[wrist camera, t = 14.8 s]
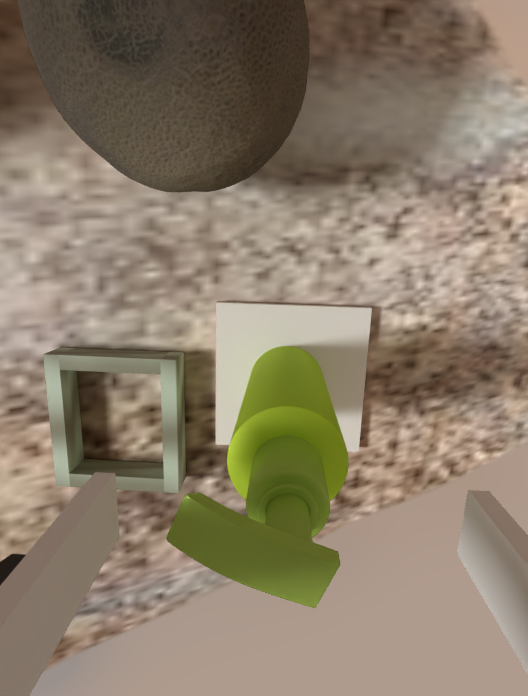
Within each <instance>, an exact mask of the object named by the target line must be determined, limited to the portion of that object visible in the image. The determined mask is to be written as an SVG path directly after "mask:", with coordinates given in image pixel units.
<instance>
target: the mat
mask: <svg viewBox="0 0 528 696" xmlns="http://www.w3.org/2000/svg"><path fill="white" fill-rule="evenodd" d="M371 313H372V308H370V307H355V306H327V305H300V304H272V303H245V302H216V444H220V445H230V442H231V438H232V435H233V432H234V428H235V425H236V422H237V418H238V415H239V411H240V408H241V405H242V401H243V398H244V395H245V391H246V388H247V385H248V381H249V378H250V375H251V371H252V368H253V366H254V364H255V363H256V361H257V360H258V359H259V357H260V356H262V355H263V354H264V353H265V352H267V351H269V350H271V349H273V348H276V347H281V346H292V347H297V348H300V349H302V350H304V351H306V352H308V353H309V354H310V355H312V356H313V357H314V358H315V360H316V361H317V362H318V364H319V366H320V368H321V371H322V374H323V377H324V380H325V383H326V386H327V389H328V392H329V395H330V398H331V401H332V405H333V408H334V411H335V414H336V417H337V420H338V423H339V426H340V429H341V432H342V435H343V438H344V442H345V445H346V448H347V451H353V452H359V442H360V432H361V421H362V410H363V399H364V388H365V378H366V367H367V356H368V345H369V334H370V324H371Z"/></svg>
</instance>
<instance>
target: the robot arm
mask: <svg viewBox="0 0 528 696" xmlns="http://www.w3.org/2000/svg"><path fill="white" fill-rule="evenodd" d="M118 537H119V522H118V507H117V493H116V478H115V473H102V472H95V473H94V474H93V475H92V477H91V478H90V479H89V480H88V481H87V483H86V484H85V485H84V486H83V487H82V489H81V490H80V491H79V492H78V493H77V495H76V496H75V497H74V498H73V499H72V501H71V502H70V503H69V504H68V505H67V506H66V508H65V509H64V510H63V511H62V512H61V514H60V515H59V516H58V517H57V518H56V520H55V521H54V522H53V523H52V524H51V526H50V527H49V528H48V529H47V530H46V532H45V533H44V534H43V535H42V536H41V538H40V539H39V540H38V541H37V542H36V544H35V545H34V546H33V547H32V548H31V550H30V551H29V552H28V553H27V554H26V555H21V554H11V555H10V556H8V557H7V558H5V559H4V560H3V561H1V562H0V696H29V695H30V693H31V692H32V690H33V688H34V686H35V685H36V683H37V681H38V679H39V677H40V676H41V674H42V672H43V670H44V669H45V667H46V665H47V663H48V662H49V660H50V658H51V656H52V654H53V653H54V651H55V649H56V647H57V646H58V644H59V642H60V640H61V638H62V637H63V635H64V633H65V631H66V630H67V628H68V626H69V624H70V623H71V621H72V619H73V617H74V615H75V614H76V612H77V610H78V608H79V607H80V605H81V603H82V601H83V599H84V598H85V596H86V594H87V592H88V591H89V589H90V587H91V585H92V583H93V582H94V580H95V578H96V576H97V575H98V573H99V571H100V569H101V568H102V566H103V564H104V562H105V560H106V559H107V557H108V555H109V553H110V552H111V550H112V548H113V546H114V544H115V543H116V541H117V539H118ZM457 555H458V556H459V558H460V560H461V561H462V563H463V565H464V566H465V568H466V570H467V572H468V573H469V575H470V577H471V578H472V580H473V582H474V583H475V585H476V587H477V589H478V590H479V592H480V594H481V595H482V597H483V599H484V600H485V602H486V604H487V606H488V607H489V609H490V611H491V612H492V614H493V616H494V618H495V619H496V621H497V623H498V624H499V626H500V628H501V629H502V631H503V633H504V635H505V636H506V638H507V640H508V641H509V643H510V645H511V646H512V648H513V650H514V651H515V653H516V655H517V657H518V658H519V660H520V662H521V664H522V665H523V667H524V668H525V670H526V672H527V674H528V535H527V534H526V533H525V532H524V530H523V529H522V528H521V527H520V526H519V525H518V524H517V522H516V521H515V520H514V519H513V518H512V517H511V516H510V514H509V513H508V512H507V511H506V510H505V509H504V508H503V507H502V505H501V504H500V503H499V502H498V501H497V500H496V498H495V497H494V496H493V495H492V494H491V493H490V492H489V491H474V490H468V493H467V499H466V505H465V511H464V517H463V522H462V528H461V535H460V539H459V546H458V551H457Z"/></svg>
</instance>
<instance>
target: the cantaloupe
mask: <svg viewBox="0 0 528 696" xmlns="http://www.w3.org/2000/svg"><path fill="white" fill-rule="evenodd" d="M18 6H19V11H20V15H21V20H22V25H23V29H24V33H25V37H26V40H27V43H28V46H29V49H30V51H31V54H32V56H33V59H34V61H35V64H36V67H37V69H38V72H39V74H40V76H41V79H42V81H43V83H44V86H45V88H46V90H47V92H48V93H49V95H50V97H51V99H52V101H53V103H54V105H55V106H56V108H57V109H58V111H59V112H60V114H61V115H62V117H63V118H64V120H65V121H66V122H67V123H68V125H69V126H70V127H71V128H72V129H73V130H74V132H75V133H76V134H77V135H78V136H79V137H80V138H81V139H82V140H83V141H84V142H85V143H86V144H87V145H88V146H89V147H91V148H92V149H93V150H94V151H95V152H96V153H98V154H99V155H100V156H101V157H103V158H104V159H105V160H106V161H107V162H109V163H110V164H111V165H112V166H113V167H114V168H116V169H117V170H118V171H119V172H121V173H122V174H124V175H125V176H127V177H128V178H130V179H132V180H134V181H136V182H139V183H141V184H143V185H146V186H148V187H151V188H154V189H157V190H161V191H165V192H191V191H199V192H209V191H215V190H219V189H223V188H226V187H229V186H232V185H234V184H236V183H238V182H240V181H242V180H244V179H246V178H248V177H250V176H251V175H252V174H254V173H255V172H256V171H257V170H258V169H260V168H261V167H262V166H263V165H264V164H265V163H266V162H267V161H268V160H269V159H270V158H271V157H272V156H273V155H274V154H275V153H276V152H277V151H278V149H279V148H280V147H281V146H282V144H283V143H284V141H285V140H286V138H287V137H288V135H289V134H290V132H291V129H292V127H293V125H294V123H295V121H296V118H297V116H298V114H299V112H300V109H301V106H302V103H303V99H304V95H305V91H306V84H307V72H308V63H309V29H308V22H307V16H306V11H305V5H304V0H18Z"/></svg>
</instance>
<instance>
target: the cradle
mask: <svg viewBox="0 0 528 696" xmlns="http://www.w3.org/2000/svg"><path fill="white" fill-rule="evenodd" d="M43 357H44V367H45V377H46V387H47V397H48V407H49V418H50V428H51V438H52V448H53V458H54V468H55V478H56V486H67V487H83V486H84V485H85V484H86V483H87V481H88V480H89V479H90V478H91V477H92V475H93V474H94V473H95V472H102V473H115V478H116V489H119V490H136V491H153V492H170V493H179V491H180V489H181V486H182V484H183V482H184V480H185V478H186V451H185V387H184V352H163V351H140V350H116V349H92V348H69V347H60V348H58V349H55V350H53V351H50V352H48V353H45V354H43ZM77 371H96V372H118V373H141V374H161V401H162V434H163V463H150V462H132V461H114V460H96V459H84V453H83V441H82V428H81V416H80V403H79V391H78V378H77Z"/></svg>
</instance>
